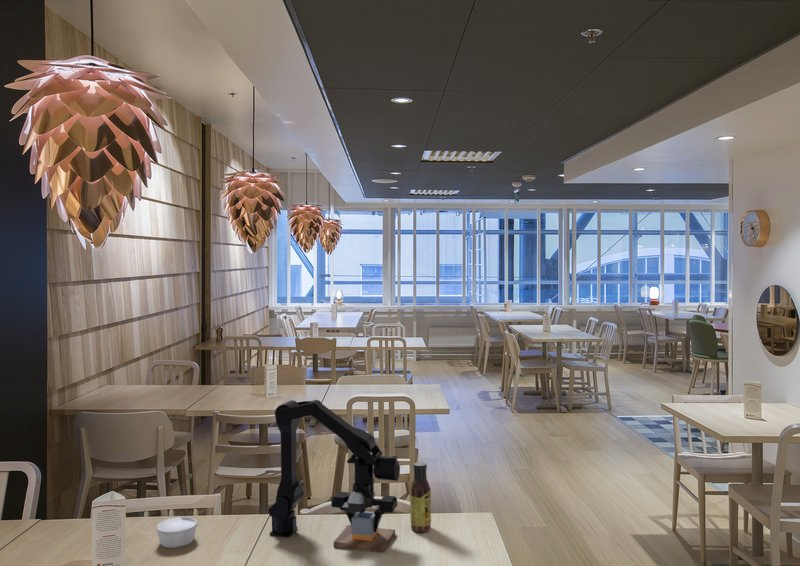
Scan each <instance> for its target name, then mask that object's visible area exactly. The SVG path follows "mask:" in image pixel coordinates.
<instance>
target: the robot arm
mask: <svg viewBox="0 0 800 566" xmlns="http://www.w3.org/2000/svg"><path fill="white" fill-rule="evenodd" d="M310 416H311V417H313V419H315V420H316V421H318V422H319V423H320V424H321V425H323V426H324V427H326V428H327V429H328V430H329V431H331V432H332V433H333V434H335V436H337V437H338V438H339V439H341V440H342V441H343V442H344V444H345V446H346V448H347V449H348V450H349V451H350V452H351V453H352V454H351V456H350V458H348V459H347V461H346V462H347V464H353V477H354V479H353V484H352V491H351V493H350V492H347V491H337V493H336V494H334V496H332V498H331V500H330V502H331V504H330V505H331V507H332V508H337V509H339V510H340V511H342V512H344V513H345V514H346V516H347V518H348V521H349V523H350V524H349V525H351V526H352V517H353V516H354V515H355V514H356V512H359V513H363V512H365V511H366V510H367V509H369V508H370V509H372V507H373V506H374V507H376V509H375V510H374V511H373V512H374V514H375V523H374V532H376V531H377V529H378V528H379V526H380V523H381V520H382V517H383V515H384V514H386V513H393V512H394V511H395V510H396V508H397V507H398V499H397V497H396V496H395V495H383V497H381V498H375V496H376V492H375V482H376V479H377V480H380V481H390V482H391V481H392V482H397V481H398V480H399V478H400V473H401V465H400V462H399V460H398V456H397V455H391V456H390V455H389V456H388V455H383V452H382V451H381V449H380V448H379V446H378V445H377V443H376V439H375V437H374V436H373V434H372V433H369V432H368V431H365V429H364V430H363V429H361V428H358V427H355V426H352V425H351V424H349V423H348V422H347V421H345V419H343V418H341V417H340V416H339V415H337V414H336V413H335V412H333V411H332V410H331V409H330V408H328V407H327V406H325V405H324V404H323V403H322V401H320V400H318V399H313V400H303V401H298V402H297V401H296V400H294V399H293V400H292V399H290V400H288V401H286V402H284V403H282V404H280V405H278V406H277V407H276V408H275V411H274V417H275V418H274V419H275V424H276V427H277V429H278V431H279V432H280V480H279V484H278V486H277V490H276V495H275V502H274V503H273V505H271V506H270V507H269V508H268V509H267V511H268V514H269V516H270V517H271V531H270V532H269V536H277V537H285V538H288V537H291V535H292V534H294V532H296V531H297V530H298V526H297V516H296V510H294V509H295V508H297V505H298V504H299V503H300V502H301V501H302V499H303V497H304V496H305V493H304V482H302V481H299V479H298V474H297V471H298V469H297V466H298V465H297V464H298V463H297V430H298V428H299V425H300V421H301V418H304V417H305V418H306V417H310ZM375 478H376V479H375Z"/></svg>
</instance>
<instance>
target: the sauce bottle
mask: <svg viewBox="0 0 800 566" xmlns="http://www.w3.org/2000/svg"><path fill="white" fill-rule="evenodd" d="M427 469H428V465H427V463H426V462H424V461H423V462H422V461H420V462H419V461H417V462H415V463H413V480H412V481H411V484H410V494H409V495H410V497H409V499H410V500H409V501H410V502H409V503H410V506H409V507H410V509H409V511H410V529H411V530H412V531H414V532H418V533H423V532H429V530H430V529H431V525H432V508H431V507H432V506H431V505H432V497H431V494H432V493H431V492H432V491H431V487H430V484H429V481H428V478H427V476H428V475H427Z"/></svg>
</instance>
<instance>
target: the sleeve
mask: <svg viewBox="0 0 800 566" xmlns="http://www.w3.org/2000/svg"><path fill="white" fill-rule="evenodd" d="M374 512H375V511H366V510H365V512H363V513H359V512H355V515H354V516H353V517H352V539H358V540H367V541H372V540H373V538H374V537H375V535H376V534H377V532H378V529H377V531H376V532H374V523H375V514H374Z"/></svg>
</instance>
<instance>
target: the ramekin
mask: <svg viewBox="0 0 800 566" xmlns="http://www.w3.org/2000/svg"><path fill="white" fill-rule="evenodd" d="M197 527H198V521H197V519H195V518H193V517H189V516H178V517H177V516H176V517H171V518H168V519H165V520H163V521H161V522H159V523H158V524H157V525H156V532H157V535H158V539H159V544H160V545H161V546H162V547H164V548H168V549H176V547H177V548H181V546H182V547H185V546H188V545H190V544H191V543H192V542H193V541H194V539H195V536H196V531H197V530H196V529H197Z"/></svg>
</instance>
